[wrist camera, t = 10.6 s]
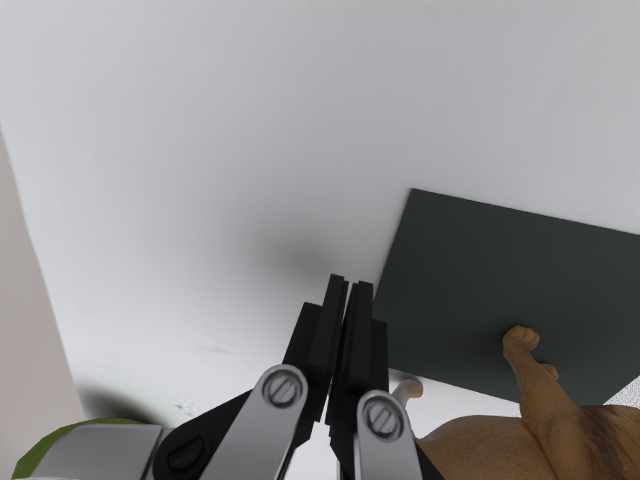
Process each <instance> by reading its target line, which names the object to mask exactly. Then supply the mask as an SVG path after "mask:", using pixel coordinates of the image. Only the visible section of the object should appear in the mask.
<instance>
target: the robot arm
mask: <svg viewBox="0 0 640 480" xmlns="http://www.w3.org/2000/svg"><path fill="white" fill-rule="evenodd" d="M348 285H349V282H348V281H344V277H343V276H339V275H335V274H331V276H330V280H329V283H328V287H327V291H326V294H325V298H324V302H323V305H322V306H320V305H316V304H312V303H308V302H304V304H303V307H302V310H301V312H300V315H299V318H298V321H297V323H296V326H295V329H294V332H293V334H292V337H291V340H290V343H289V345H288V348H287V351H286V354H285V356H284V359H283V362H282V364H279V365H276V366H273V367H271V368H269V369H268V370H266V371H265V372H264V373H263V375H262V376H261V377H260V379H259V380H258V382H257V384H256V385H255V387H254V388H253V389H251V390H249V391H247V392H245V393H243V394H241V395H239V396H237V397H235V398H233V399H231V400H229V401H227V402H225V403H223V404H221V405H219V406H217V407H215V408H214V409H212V410H210V411H208V412H206V413H204V414H202V415H200V416H198V417H196V418H194V419H192V420H190V421H188V422H186V423H184V424H182V425H180V426H179V427H177V428H164V426H163V425H143V424H86V425H81V426H79V427H77V428H74V429H72V430H70V431H68V432H67V433H66V434H64V435H63V436H62V437H60V438H59V439H58V440H57V441H56V442H55V443H54V444H53V445H52V447H51V448H50V449H49V450H48V451H47V453H46V454H45V455H44V457H43V458H42V460H41V461H40V463H39V464H38V466H37V467H36V468H35V470H34V471H33V473H32V474H31V476H30V477H29V478H22V479H14V480H285V478H286V475H287V472H288V470H289V467H290V464H291V462H292V459H293V456H294V454H295V451H296V448H297V447H299V446H300V445H302V444H303V443H305V442H306V441H308V440H309V439H310V436H311V432H312V428H313V424H314V421H316V422H319V423H320V419H321V416H322V412H323V408H324V405H325V401H326V398H327V394H328V390H329V387H330V383H331V388H330V394H329V400H328V406H327V411H326V417H325V424H326V425H329V426H330V431H329V437H331V440H330V446H331V448H332V450H333V452H334V453H335V455H336V457H337V480H445V479H444V477H443V476H442V475H441V473H440V472H439V471H438V470H437V468H436V467H435V466H434V464H433V463H432V462H431V461H430V459H429V458H428V457H427V456H426V454H425V453H424V452H423V450H422V449H421V448H420V447H419V445H418V444H417V443H416V441H415V440H414V438H413V434H412V429H411V424H410V420H409V417H408V414H407V411H406V410H405V408H404V407H403V405H402V403H401V402H400V401H399V400H398V399H397V398H396V397H395V396H393V395H391V394H390V393H389V373H388V333H387V323H386V322H384V321H380V320H376V319H372V305H373V283H369V282H364V281H360V280H359V282H358V284H357V283H353V285H352V289H351V293H350V296H349V300H348V304H347V308H346V312H345V315H344V309H345V303H346V297H347V291H348ZM343 315H344V319H343ZM342 321H343V323H342ZM331 379H332V382H331Z"/></svg>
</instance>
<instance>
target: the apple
mask: <svg viewBox="0 0 640 480" xmlns="http://www.w3.org/2000/svg"><path fill="white" fill-rule="evenodd" d="M86 424H143V425H148V424H146V423H142V422H139V421H136V420H131V419H125V418H118V417H115V418H98V419H93V420H88V421H84V422H79V423H76V424H72V425H68V426H65V427H61V428H59V429H58V430H56V431H54V432H52V433H51V434H49V435H47V436H46V437H44V438H42V439H41V440H40V441H39V442H38V443H37V444H36V445H35V446H34V447H33V448H32V449H31V450H30V451H28V452H27V453H26V454H25V455H24V456H23V457H22V458H21V459H20V460H19V461H18V462H17V465H16V467H15V470H14V473H13V476H12V478H11V480H14V479H22V478H29V477H30V476H31V474H32V473H33V471H34V470H35V468H36V467H37V466H38V464H39V463H40V461H41V460H42V458H43V457H44V455H45V454H46V453H47V451H48V450H49V449H50V448H51V447H52V445H53V444H54V443H55V442H56V441H57V440H58V439H59V438H60V437H62V436H63V435H64V434H66V433H67V432H68V431H70V430H72V429H74V428H77V427H79V426H81V425H86Z"/></svg>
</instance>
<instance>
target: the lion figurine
mask: <svg viewBox="0 0 640 480" xmlns="http://www.w3.org/2000/svg"><path fill="white" fill-rule="evenodd" d="M539 339H540V337H539V335H538V334H537V333H536V332H534V331H533V330H532V329H530V328H526V327H523V326H519V325H517V326H514V327H513V328H511V329H510V330H509V331H508V332H507V333H506V334H505V335H504V337H503V347H504V350H503V354H504V357H505V358H506V360H507V361H508V362H509V364H510V365H511V367H512V369H513V370H514V372H515V375H516V377H517V381H518V385H519V390H520V403H519V404H520V412H521V416H522V418H519V417H502V416H486V415H471V416H465V417H459V418H456V419H453V420H450V421H448V422H446V423H444V424H443V425H441V426H440V427H438V428H437V429H435V430H434V431H432V432H431V433H430V434H428V435H427V436H425V437H424V438H422V439H418V438H416V437H415V435H414V433H413V431H412V434H413V438H414V440H415V441H416V443H417V444H418V445H419V447H420V448H421V449H422V450H423V452H424V453H425V454H426V456H427V457H428V458H429V459H430V461H431V462H432V463H433V464H434V466H435V467H436V468H437V470H438V471H439V472H440V473H441V475H442V476H443V477H444V479H445V480H640V409H638V408H636V407H629V406H624V405H612V404H610V405H587V406H583V407H581V406H578V405H577V404H576V403H575V402H574V401H573V400H572V399H571V398H570V397H569V396H568V394H567V393H566V392H565V391H564V390H563V389H562V388H561V386H560V385H559V384H558V383H557V382H556V380H557V379H558V374H557V372H556V369H555V368H554V367H553V366H552V365H550V364H538V363H537V362H536V361H535V360H534V359H533V357H532V356H531V355H530V353H529V351H530V350H532V349H534V348H536V346H537V343H538V342H539ZM330 388H331V384H330V387H329V390H328V395H329V394H330ZM422 394H423V386H422V384H421V382H419V381H417V380H412V379H406V380H403V381H402V382H401V383H400V384H399V386H398V387H397V388H396V389H395V390H394V392H393V393H392V394H391V395H393V396H395V397H396V398H397V399H398V400H399V401H400V402H401V403H402V405H403V407H404V408H405V406H406V402H407V400H408V399H409V398H418V397H421V396H422Z"/></svg>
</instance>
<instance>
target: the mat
mask: <svg viewBox="0 0 640 480" xmlns="http://www.w3.org/2000/svg"><path fill="white" fill-rule="evenodd" d="M372 319H376V320H380V321H384V322H386V323H387V333H388V368H391V369H395V370H398V371H402V372H406V373H409V374H413V375H417V376H421V377H424V378H428V379H432V380H435V381H439V382H443V383H446V384H450V385H454V386H457V387H461V388H465V389H468V390H472V391H476V392H479V393H483V394H487V395H490V396H494V397H498V398H501V399H505V400H509V401H512V402H516V403H520V390H519V385H518V381H517V377H516V375H515V372H514V370H513V369H512V367H511V365H510V364H509V362H508V361H507V360H506V358H505V357H504V354H503V350H504V347H503V337H504V335H505V334H506V333H507V332H508V331H509V330H510V329H511V328H513V327H514V326H517V325H519V326H523V327H526V328H530V329H532V330H533V331H534V332H536V333H537V334H538V335H539V337H540V339H539V342H538V343H537V346H536V348H534V349H532V350H530V351H529V353H530V355H531V356H532V357H533V359H534V360H535V361H536V362H537V363H538V364H550V365H552V366H553V367H554V368H555V369H556V372H557V374H558V379H557V380H556V382H557V383H558V384H559V385H560V386H561V388H562V389H563V390H564V391H565V392H566V393H567V394H568V396H569V397H570V398H571V399H572V400H573V401H574V402H575V403H576V404H577V405H578V406H581V407H583V406H587V405H603V404H604V403H605V402H606V401H608V400H609V399H610V398H611V397H613V396H614V395H615V394H616V393H618V392H619V391H620V390H621V389H623V388H624V387H625V386H627V385H628V384H629V383H630V382H632V381H633V380H634V379H635V378H637V377H638V376H639V375H640V235H635V234H630V233H626V232H621V231H616V230H611V229H606V228H601V227H597V226H592V225H587V224H582V223H577V222H572V221H567V220H563V219H558V218H553V217H548V216H543V215H538V214H534V213H529V212H524V211H519V210H514V209H509V208H505V207H500V206H495V205H490V204H485V203H480V202H475V201H471V200H466V199H461V198H456V197H451V196H446V195H442V194H437V193H432V192H427V191H422V190H417V189H412V190H411V193H410V196H409V199H408V202H407V205H406V208H405V211H404V214H403V217H402V220H401V223H400V226H399V228H398V231H397V234H396V237H395V240H394V243H393V246H392V249H391V252H390V255H389V258H388V261H387V264H386V267H385V270H384V272H383V275H382V278H381V281H380V284H379V287H378V290H377V293H376V296H375V299H374V302H373V305H372Z"/></svg>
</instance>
